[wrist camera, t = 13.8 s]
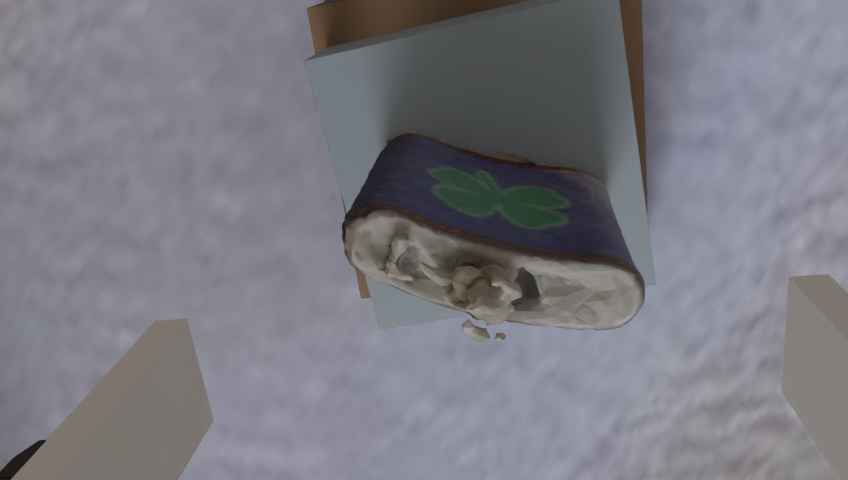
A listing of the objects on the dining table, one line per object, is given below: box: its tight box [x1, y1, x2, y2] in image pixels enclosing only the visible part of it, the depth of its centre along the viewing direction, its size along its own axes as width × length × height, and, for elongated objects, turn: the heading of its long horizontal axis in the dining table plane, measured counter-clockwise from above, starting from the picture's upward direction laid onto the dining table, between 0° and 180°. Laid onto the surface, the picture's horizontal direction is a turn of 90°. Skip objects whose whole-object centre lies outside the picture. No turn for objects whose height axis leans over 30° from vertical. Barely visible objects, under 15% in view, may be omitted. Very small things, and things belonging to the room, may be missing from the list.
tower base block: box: [307, 0, 647, 298], centre depth 35 cm, size 14×14×4 cm
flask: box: [342, 131, 645, 342], centre depth 24 cm, size 9×3×11 cm, turn 78°
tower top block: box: [304, 0, 656, 329], centre depth 31 cm, size 12×12×4 cm
